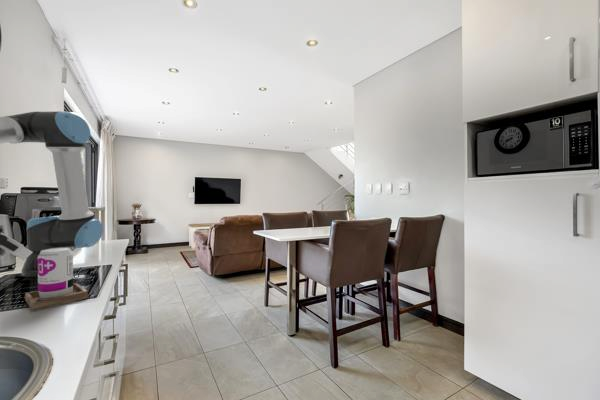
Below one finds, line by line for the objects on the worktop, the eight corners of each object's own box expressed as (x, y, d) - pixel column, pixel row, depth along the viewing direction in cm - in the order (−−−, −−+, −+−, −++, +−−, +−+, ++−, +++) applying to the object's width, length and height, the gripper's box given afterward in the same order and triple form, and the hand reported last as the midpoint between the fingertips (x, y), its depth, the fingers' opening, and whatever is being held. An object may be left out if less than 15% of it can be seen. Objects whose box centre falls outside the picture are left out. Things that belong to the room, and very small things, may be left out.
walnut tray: (25, 300, 84) (24, 293, 84) (76, 288, 94) (76, 282, 94) (32, 311, 77) (32, 303, 76) (87, 297, 87) (87, 291, 86)
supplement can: (52, 303, 81) (52, 253, 80) (31, 300, 82) (30, 251, 82) (80, 293, 88) (79, 247, 88) (59, 291, 90) (59, 246, 90)
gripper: (-80, 210, 72) (4, 256, 84) (-86, 217, 57) (18, 271, 69) (-48, 191, 76) (28, 237, 88) (-46, 192, 61) (45, 247, 73)
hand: (23, 252), depth 79 cm, fingers open, 13 cm apart
